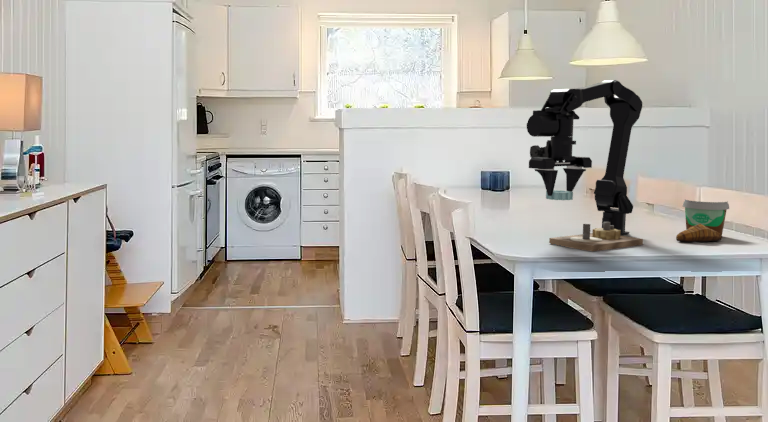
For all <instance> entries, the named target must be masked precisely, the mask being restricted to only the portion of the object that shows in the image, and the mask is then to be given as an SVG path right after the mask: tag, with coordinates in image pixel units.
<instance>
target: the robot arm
mask: <svg viewBox="0 0 768 422" xmlns="http://www.w3.org/2000/svg"><path fill="white" fill-rule="evenodd" d="M601 98H604V99H603V100H604V103H605V104H606V106H607V107H608V108H609V117H610V120H611V122H612V124H613V125H612V126H613V127H612V132H611V139H610V146H609V150H608V156H607V161H606V168H605V174H604V175H603V177H602V178H600V179H597V180H596V181H595V188H594V191H593V194H594V202H595V204H596V208H597V209H596V210H597V211H598V212H602V217H601V228H603V222H610V225H614V229H617V230H621V232H620V236H623V235H628V234H629V235H630V231H626V220H627V219H626V218H627V217H626V216H627V214H629V215H630V214H632V213H633V209H634V205H633V203H632V202H631V200H630V198H629V197H628V195H627V194H628V187H627V184H626V181H625V179H624V175H625V169H626V163H627V162H626V161H627V158H628V151H629V145H630V140H631V133H632V129H633V127H634V125H635V124H636V123H637V121H638V120H639V119H640V116H641V113H642V110H643V101H642V99H641V97H640V96H639V95H638V94H636V92H635V91H634V90H632V89H630V88H629V87H626V86H624V85H623V84H622V82H620V81H619V80H617V79H612V80H611V79H609V80H603V81H601V82H598V83H596V82H595V83H593V84H590V85H589V84H588V85H584V86H582V87H578V88H557V89H552V90H551V91H549V95H548V98H547V99H546V101H545V102H544V104H543V106H542V108H541V109H540V110H537V109H535V110H533V111H532V115H531V116H530V117H529V118H528V120H527V122H526V130H527V133H528V134H529V135H530V136H531V137H533V138H534V137H536V138H537V137H538V138H539V137H540V138H541V137H543V138H545V137H550V139H547V141H546V145H545V146H544V147H543V146H539V145H538V144H537V145H532V146H530V148H529V157H530V158H529V160H528V168H529V169H534V172H537V173H538V174H539V175H540V176H541V178H542V181H543V184H544V187H545V192H546V191H547V194H548V196H552V194H553V190H555V189H554V188H555V186H556V185H555V184H556V181H557V178H558V177H557V176H558V172H559V169H558V170H557V169H555V167H563V168H562V170H563V171H564V173H565V175H566V178H565V179H566V181H565V183H566V187H565V189H566V190H565V191H572V192H574V189H575V188H576V186H577V184H578V182H579V180H580V179H581V177H582V176H583V174H584V172H586V171H587V169H588V168H589V169H591V168H592V167H593V160H592V159H591V157H589V156H575V155H573V145H577V140H573V138H574V120H580V116H579V115H578V114H577V113H576V112H575V110H577V109H579V108H581V107H582V106H583V104H584V103H587V102H590V101H594V100H598V99H601Z"/></svg>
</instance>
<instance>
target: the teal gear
mask: <svg viewBox="0 0 768 422" xmlns="http://www.w3.org/2000/svg"><path fill="white" fill-rule="evenodd" d="M573 199H574V191H567V190H558V189H554V190H553V194H552V196H548V194H547V191H546V190H545V200H552V201H553V200H554V201H572V200H573Z"/></svg>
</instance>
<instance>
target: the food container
mask: <svg viewBox="0 0 768 422" xmlns="http://www.w3.org/2000/svg"><path fill="white" fill-rule="evenodd" d="M682 207H683V208H684V213H685V230H687V229H689V228H690V227H692V226H695V225H698V224H702V225H704V226H706V227H708V228H709V229H712V230H714V231H717V232H718V233H720V234H721V235H722V236H723V231H724V228H725V227H724V226H725V220H726V216H727V210H730V204H729V201H728V200H727V201H698V200H697V201H696V200H688V199H684V201H683V203H682Z"/></svg>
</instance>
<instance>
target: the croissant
mask: <svg viewBox="0 0 768 422" xmlns="http://www.w3.org/2000/svg"><path fill="white" fill-rule="evenodd" d="M675 239H676V241H677V242H680V243H706V242H719V241H721V240H722V239H723V234H722V235H721V234H720V233H718V232H717V231H714V230H712V229H709V228H708V227H706V226H704V225H702V224H698V225H695V226H692V227H690V228H689V229H687V230H686V229H685V230H684V229H683V230H682V231H679V233H678V234H677V235H676V237H675Z"/></svg>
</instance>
